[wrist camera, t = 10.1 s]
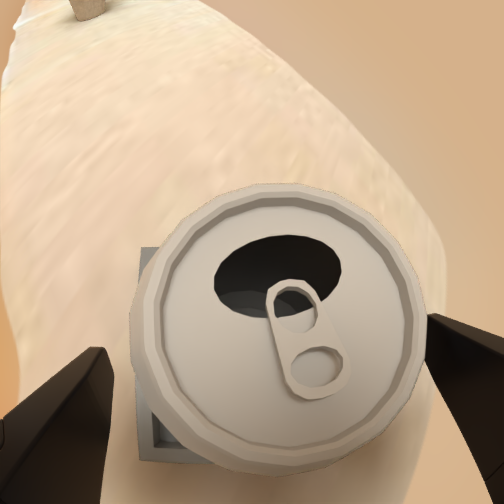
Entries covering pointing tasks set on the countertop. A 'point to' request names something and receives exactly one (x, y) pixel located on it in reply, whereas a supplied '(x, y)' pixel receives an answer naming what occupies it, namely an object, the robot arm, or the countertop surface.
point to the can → (277, 329)
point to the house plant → (87, 8)
